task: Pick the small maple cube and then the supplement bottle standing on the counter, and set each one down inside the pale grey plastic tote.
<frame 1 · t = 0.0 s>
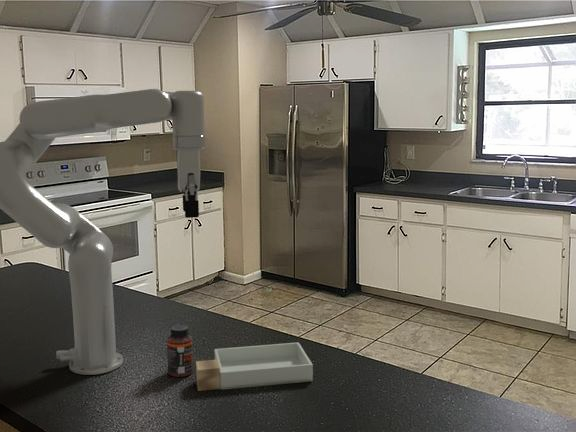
hand: (190, 214, 150), 37 cm above the countertop, tool pointing down, fingers open, 9 cm apart
tote: (262, 372, 147), on the countertop
maple cube: (208, 385, 141), on the countertop
supplement bottle: (180, 373, 147), on the countertop
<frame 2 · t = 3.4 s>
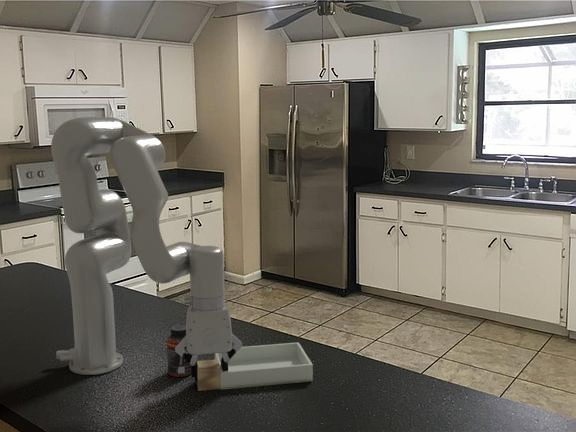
hand: (209, 377, 140), 2 cm above the countertop, tool pointing down, fingers open, 5 cm apart
maple cube: (208, 385, 141), on the countertop, touching gripper, tote
everything else where it was.
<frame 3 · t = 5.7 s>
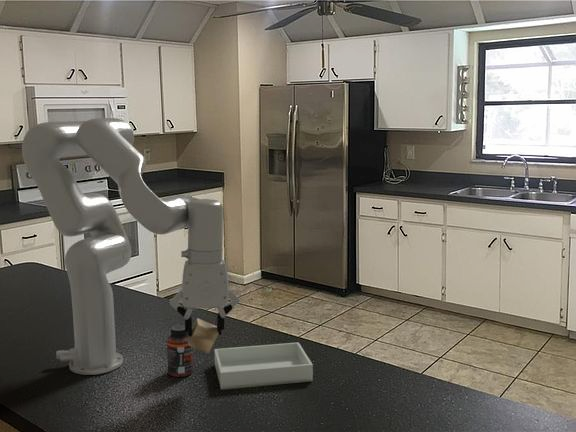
hand: (204, 332, 139), 12 cm above the countertop, tool pointing down, fingers closed on maple cube, 5 cm apart
maple cube: (197, 345, 139), point 10 cm above the countertop, tilted 27°, touching gripper
everything else where it was.
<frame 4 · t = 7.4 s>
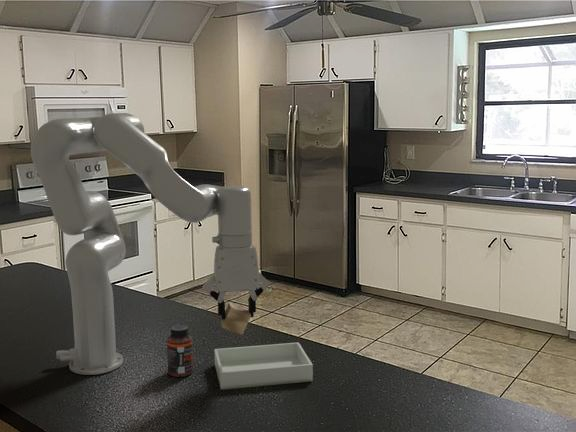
hand: (237, 315, 144), 15 cm above the countertop, tool pointing down, fingers closed on maple cube, 5 cm apart
maple cube: (231, 328, 143), point 12 cm above the countertop, tilted 25°, touching gripper
everything else where it was.
when the fingers open (5 cm above the countertop, at t = 9.5 s): maple cube drops 1 cm, resting on tote.
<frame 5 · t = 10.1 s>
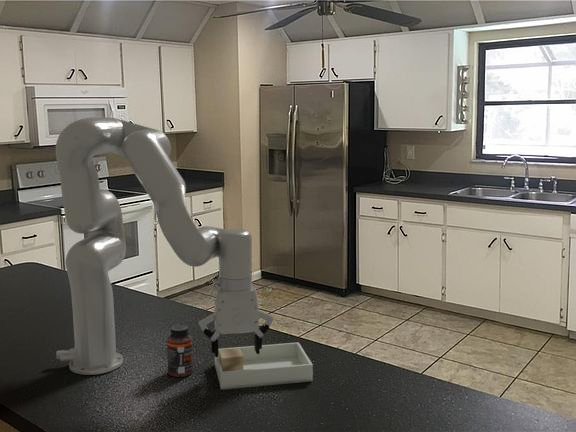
hand: (236, 353, 145), 5 cm above the countertop, tool pointing down, fingers open, 9 cm apart
maple cube: (231, 373, 145), point 1 cm above the countertop, touching tote
everything else where it was.
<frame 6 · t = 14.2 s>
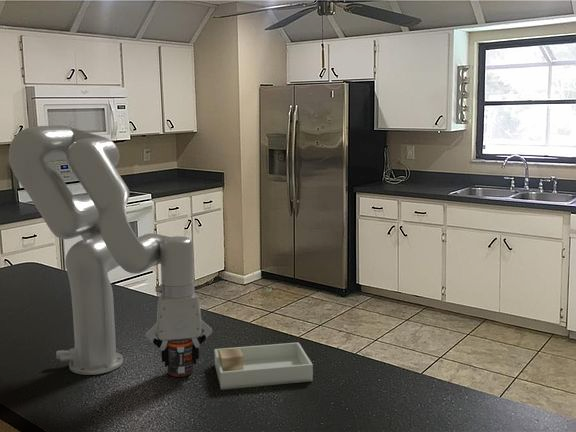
hand: (180, 362, 147), 3 cm above the countertop, tool pointing down, fingers closed on supplement bottle, 6 cm apart
supplement bottle: (180, 373, 147), on the countertop, touching gripper
everything else where it was.
when the fingers open (5 cm above the countertop, at t = 21.8 s): supplement bottle drops 2 cm, resting on tote.
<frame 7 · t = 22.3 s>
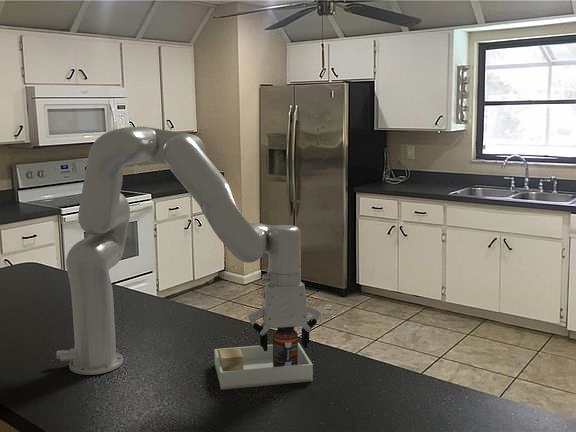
hand: (284, 347, 147), 6 cm above the countertop, tool pointing down, fingers open, 9 cm apart
supplement bottle: (285, 368, 148), resting on tote
everything else where it was.
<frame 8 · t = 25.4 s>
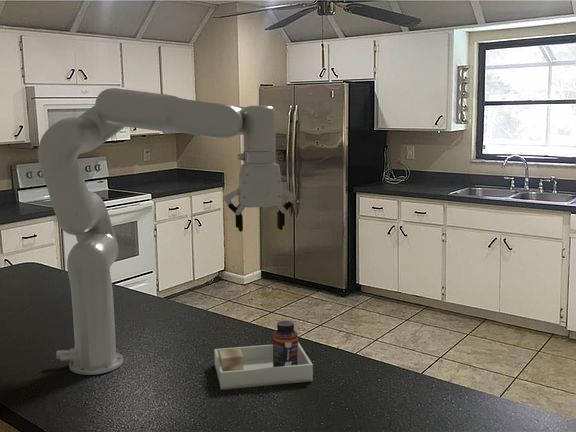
hand: (260, 229, 149), 33 cm above the countertop, tool pointing down, fingers open, 9 cm apart
nothing on the countertop moved.
at the end: maple cube inside the target area on the tote (7.4 cm from its centre), point 0.6 cm above the tote's base; supplement bottle inside the target area on the tote (5.7 cm from its centre), point 0.4 cm above the tote's base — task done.
